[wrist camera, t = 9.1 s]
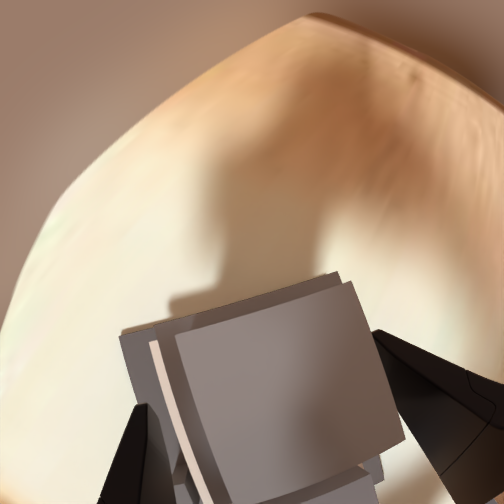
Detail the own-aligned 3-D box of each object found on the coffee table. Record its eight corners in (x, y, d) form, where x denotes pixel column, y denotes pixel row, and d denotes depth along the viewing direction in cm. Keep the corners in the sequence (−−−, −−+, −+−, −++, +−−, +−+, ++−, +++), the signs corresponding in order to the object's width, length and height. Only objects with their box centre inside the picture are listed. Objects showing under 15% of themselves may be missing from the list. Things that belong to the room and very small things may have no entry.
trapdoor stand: (382, 478, 19) (407, 495, 15) (197, 539, 16) (195, 567, 12) (324, 279, 23) (345, 266, 19) (120, 336, 20) (100, 333, 16)
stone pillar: (304, 407, 17) (437, 449, 5) (221, 434, 16) (212, 542, 4) (277, 329, 19) (365, 241, 7) (195, 354, 18) (131, 308, 6)
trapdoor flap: (369, 494, 15) (388, 508, 13) (223, 543, 14) (223, 566, 11) (306, 298, 20) (319, 286, 17) (150, 342, 18) (137, 337, 15)
